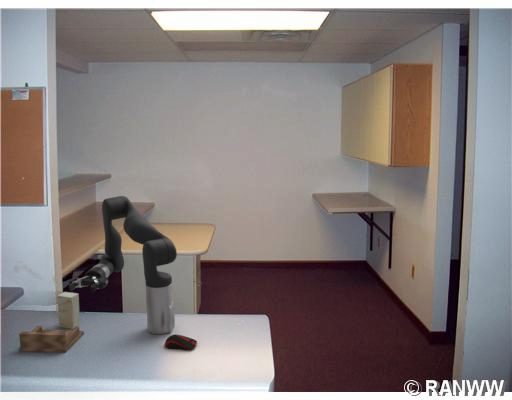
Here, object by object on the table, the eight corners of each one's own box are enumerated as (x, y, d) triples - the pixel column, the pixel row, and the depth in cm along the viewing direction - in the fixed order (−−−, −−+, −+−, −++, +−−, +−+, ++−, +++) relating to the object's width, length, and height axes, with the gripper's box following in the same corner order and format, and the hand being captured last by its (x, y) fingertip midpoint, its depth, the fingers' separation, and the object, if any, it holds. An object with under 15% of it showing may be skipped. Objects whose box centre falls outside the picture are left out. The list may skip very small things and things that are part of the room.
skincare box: (58, 327, 182) (56, 295, 180) (66, 322, 186) (64, 291, 184) (73, 329, 180) (71, 297, 178) (81, 324, 185) (78, 293, 182)
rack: (84, 333, 177) (83, 317, 176) (65, 352, 163) (64, 335, 162) (40, 331, 178) (39, 316, 177) (19, 350, 164) (17, 333, 163)
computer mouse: (193, 352, 164) (193, 341, 163) (162, 349, 166) (161, 338, 165) (199, 343, 170) (198, 332, 169) (168, 341, 172) (168, 330, 171)
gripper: (80, 265, 209) (62, 279, 193) (113, 267, 207) (98, 280, 192) (81, 282, 210) (63, 297, 194) (114, 284, 209) (99, 299, 193)
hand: (80, 289), depth 193 cm, fingers open, 8 cm apart
